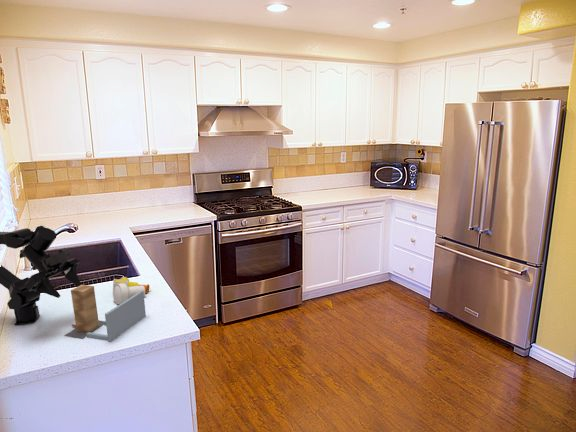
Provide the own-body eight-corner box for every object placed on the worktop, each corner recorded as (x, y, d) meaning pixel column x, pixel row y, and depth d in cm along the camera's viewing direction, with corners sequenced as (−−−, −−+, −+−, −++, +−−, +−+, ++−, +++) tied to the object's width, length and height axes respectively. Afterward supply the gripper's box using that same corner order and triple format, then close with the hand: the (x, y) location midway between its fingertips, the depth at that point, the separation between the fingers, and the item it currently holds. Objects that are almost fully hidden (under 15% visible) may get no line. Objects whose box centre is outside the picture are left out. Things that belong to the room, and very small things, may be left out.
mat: (64, 336, 139) (64, 335, 139) (90, 320, 150) (90, 319, 150) (82, 339, 137) (82, 338, 137) (107, 322, 148) (107, 321, 148)
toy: (121, 274, 181) (111, 280, 171) (154, 278, 181) (146, 284, 171) (120, 287, 182) (110, 293, 172) (153, 290, 182) (145, 296, 172)
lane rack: (85, 338, 138) (81, 310, 135) (122, 313, 155) (120, 288, 153) (110, 342, 135) (107, 314, 133) (145, 316, 153) (143, 291, 150)
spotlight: (109, 298, 166) (113, 280, 164) (137, 295, 174) (140, 277, 172) (118, 308, 160) (121, 289, 159) (145, 304, 168) (149, 286, 167)
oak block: (67, 329, 143) (61, 289, 140) (78, 322, 148) (72, 283, 144) (88, 332, 141) (83, 291, 137) (99, 325, 145) (93, 286, 142)
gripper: (26, 252, 131) (59, 288, 130) (71, 236, 148) (101, 268, 148) (11, 273, 135) (43, 308, 134) (57, 255, 152) (85, 286, 152)
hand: (70, 291), depth 142 cm, fingers open, 9 cm apart
